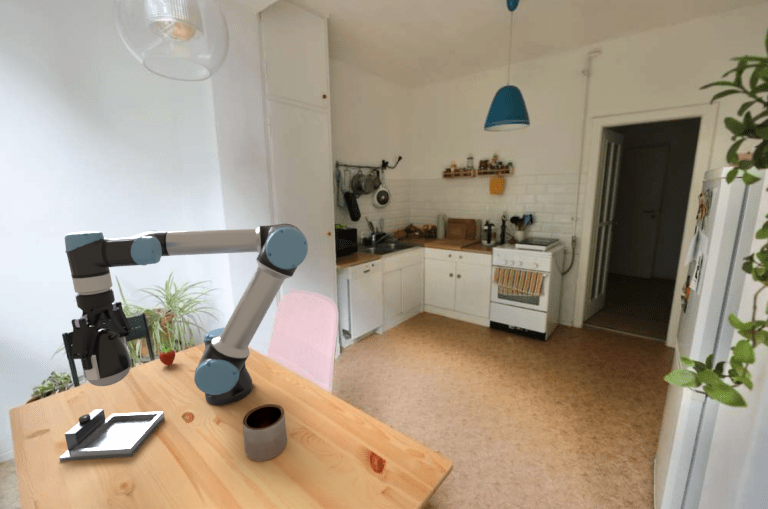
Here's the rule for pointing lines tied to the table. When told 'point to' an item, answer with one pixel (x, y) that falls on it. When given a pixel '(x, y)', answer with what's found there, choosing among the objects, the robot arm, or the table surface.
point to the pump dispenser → (110, 358)
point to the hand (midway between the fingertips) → (109, 368)
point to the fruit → (167, 356)
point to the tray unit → (109, 434)
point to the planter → (264, 432)
